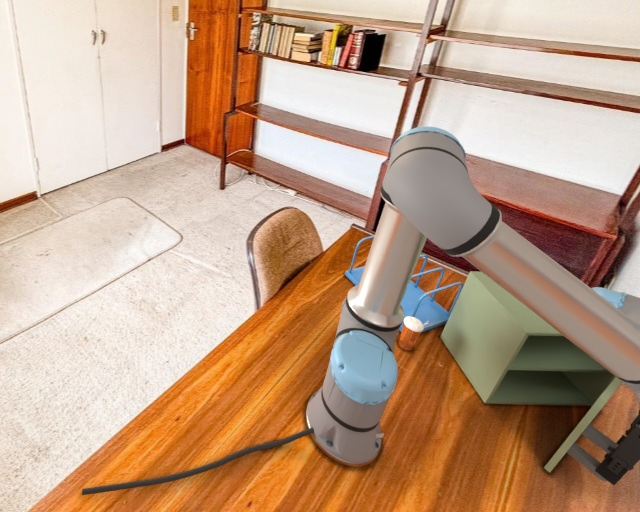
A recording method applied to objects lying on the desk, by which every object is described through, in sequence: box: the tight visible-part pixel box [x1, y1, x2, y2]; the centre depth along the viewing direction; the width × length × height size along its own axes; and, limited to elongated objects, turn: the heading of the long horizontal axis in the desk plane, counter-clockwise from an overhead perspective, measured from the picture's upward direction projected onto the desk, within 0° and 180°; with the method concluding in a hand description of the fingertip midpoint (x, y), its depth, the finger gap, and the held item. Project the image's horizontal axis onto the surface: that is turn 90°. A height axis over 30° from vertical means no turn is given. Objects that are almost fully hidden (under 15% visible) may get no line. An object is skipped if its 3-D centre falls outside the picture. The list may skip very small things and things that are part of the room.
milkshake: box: [398, 316, 429, 351], centre depth 103 cm, size 4×5×10 cm
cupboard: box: [440, 270, 616, 407], centre depth 95 cm, size 18×26×24 cm
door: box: [543, 377, 624, 483], centre depth 78 cm, size 7×26×23 cm, turn 119°
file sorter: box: [344, 234, 464, 333], centre depth 117 cm, size 25×17×15 cm
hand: (609, 469), depth 74 cm, fingers open, 4 cm apart
